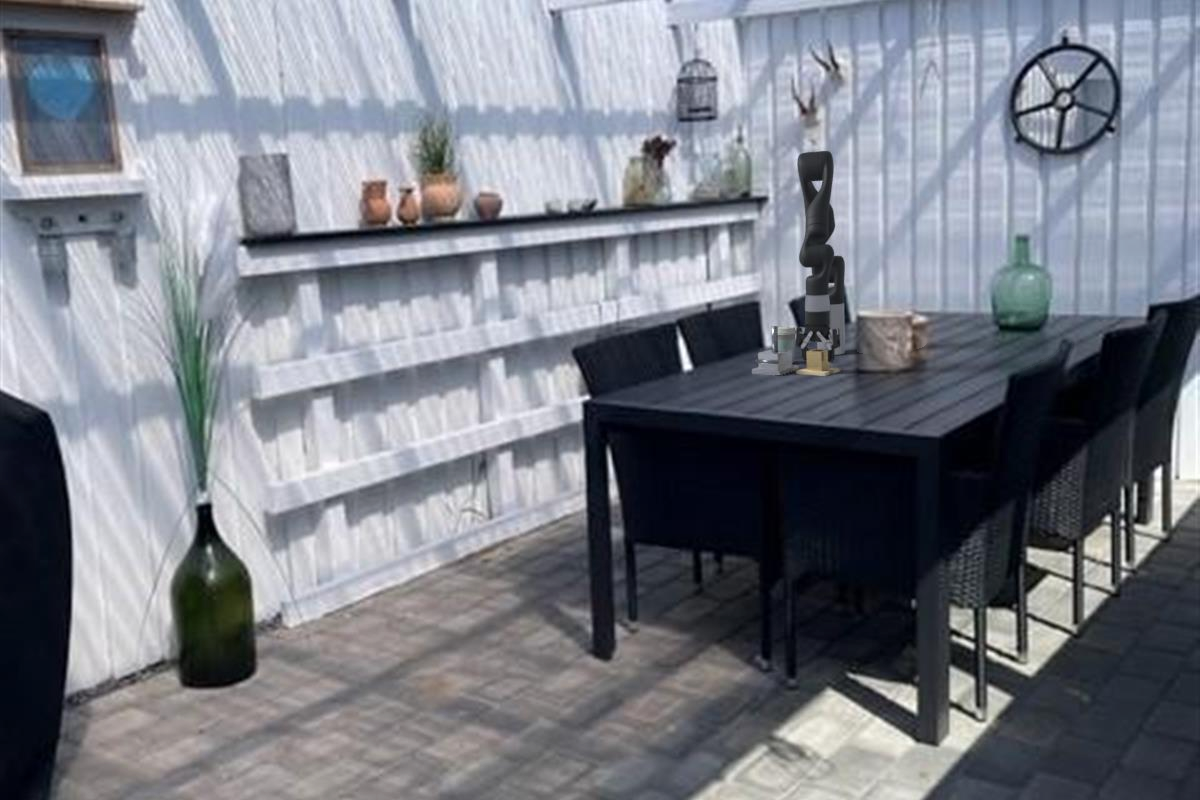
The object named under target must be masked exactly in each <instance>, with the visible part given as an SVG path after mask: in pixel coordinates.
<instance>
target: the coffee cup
mask: <svg viewBox="0 0 1200 800" xmlns="http://www.w3.org/2000/svg"><path fill="white" fill-rule="evenodd" d="M777 326H778V349H780V350H792V363H793V364H794V358H795V357H794V356H795V349H796V347H795V346H796V329H797V328H796V326H793V325H777ZM770 335H771V337H772V334H771V332H770Z"/></svg>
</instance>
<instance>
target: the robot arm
mask: <svg viewBox="0 0 1200 800" xmlns="http://www.w3.org/2000/svg"><path fill="white" fill-rule="evenodd" d="M796 161H797V163H796V164H797V165H796V166H797V172H798V177H799V178H798V179H799V182H800V188H801V192H802V196H803V197H802V198H803V206H804V215H805V223H804V224H805V232H804V233H805V234H804V239H803V242H802V244H801V247H800V251H799V254H798V260H799V264H800V265H801V266H802V267H803V268H807V269H808V268H811V275H808V276H807V277H806V278H805V300H804V311H805V312H804V314H805V315H804V319H805V321H804V323H805V327H803V326H799V327H796V328H795V329H796V337H795V346H796V347H800V349H801V358H802V359H803V361H806V362H807V353H806V351H809V350H810V348H809V346H810V344H811V343H815V342H816V345H817V347H816V349H826V350H828V362H830V363H831V362H833V361H834V360H835V359H836V358H835V355H844V354H845V353H846V325H845V275H846V262H845V259H844V256H842V255H835V250H834V248H833V246H832V245H831V244H827V242H828V241H829V240H830V239H831V237H832V236H833V234H834V232H835V228H836V221H835V213H834V212H835V211H834V208H833V206H832V205H831V203H830V202H831V196H832V190H833V181H834V172H835V171H834V169H835V167H834V166H835V165H834V164H835V162H834V157H833V154H832V152H831V151H829V150H819V151H807V152H806V151H805V152H801V153H800V154H799V155H798V156H797V160H796ZM813 182H821V186H820V188H819V190H817V189H816V187H815V186H814V183H813ZM829 284H834V286H833V287H832V288H831V289H829V288H830V287H829ZM804 334H806V335H807V336H805V338H804Z"/></svg>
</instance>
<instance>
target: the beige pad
mask: <svg viewBox="0 0 1200 800" xmlns="http://www.w3.org/2000/svg"><path fill="white" fill-rule="evenodd" d="M838 372H841V367H830V369H827V370H824V371H811V370H807V367H805V368H800V369H799V370H797V371H795V373H796V375H805V376H817V377H818V376H819V377H820V376H821V377H826V376H829V375H833V374H836V373H838Z"/></svg>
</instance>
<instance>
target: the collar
mask: <svg viewBox="0 0 1200 800" xmlns="http://www.w3.org/2000/svg"><path fill="white" fill-rule="evenodd" d="M806 353H807V360H806V368H807V370H811V371H824V370H827V369H830V364H831V362H828V350H826V349H817V348H814V349H813V348H812V349H809V351H806Z"/></svg>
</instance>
